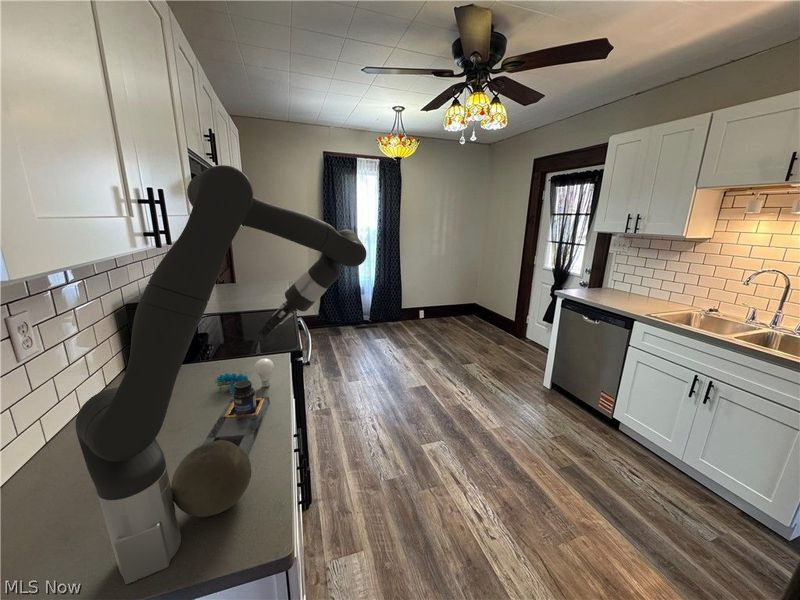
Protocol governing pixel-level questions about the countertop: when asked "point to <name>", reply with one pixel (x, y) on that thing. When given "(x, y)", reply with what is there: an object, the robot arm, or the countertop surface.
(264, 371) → the lightbulb
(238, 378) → the blue branched piece
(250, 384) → the pill bottle
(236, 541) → the countertop surface
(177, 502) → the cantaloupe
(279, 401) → the countertop surface
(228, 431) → the grey rectangular tray
